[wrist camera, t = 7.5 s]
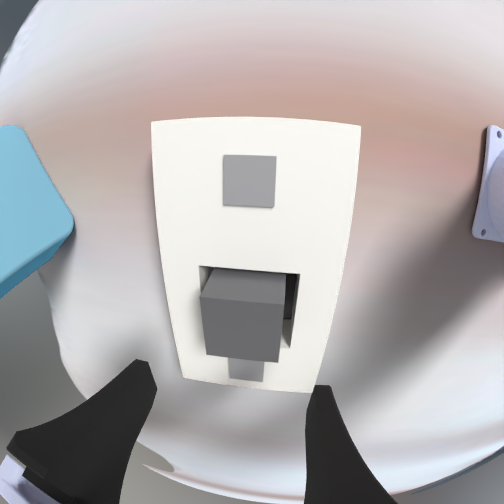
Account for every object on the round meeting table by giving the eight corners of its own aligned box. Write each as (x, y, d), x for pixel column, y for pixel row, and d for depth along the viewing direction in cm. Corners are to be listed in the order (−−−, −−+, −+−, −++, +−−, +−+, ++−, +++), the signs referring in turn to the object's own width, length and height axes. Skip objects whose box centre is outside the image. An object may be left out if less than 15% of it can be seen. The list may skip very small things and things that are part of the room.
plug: (287, 252, 17) (284, 304, 13) (282, 304, 19) (278, 362, 14) (224, 248, 18) (199, 296, 13) (226, 300, 20) (206, 354, 15)
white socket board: (348, 126, 14) (362, 125, 11) (311, 364, 21) (312, 395, 18) (174, 121, 15) (149, 121, 12) (193, 352, 22) (182, 379, 20)
